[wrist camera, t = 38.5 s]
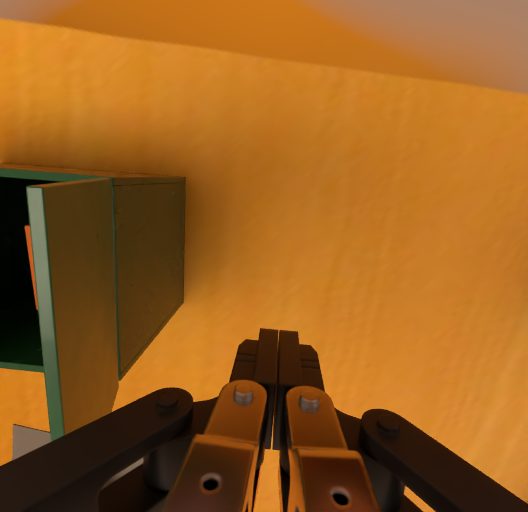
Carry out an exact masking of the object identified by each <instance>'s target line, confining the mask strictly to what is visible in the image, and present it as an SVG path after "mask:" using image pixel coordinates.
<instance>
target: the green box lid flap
mask: <svg viewBox="0 0 528 512" xmlns="http://www.w3.org/2000/svg"><path fill="white" fill-rule="evenodd" d="M26 194H27V204H28V214H29V224H30V234H31V244H32V254H33V264H34V274H35V284H36V294H37V304H38V315H39V325H40V335H41V345H42V355H43V365H44V375H45V385H46V395H47V405H48V415H49V425H50V435H51V442H52V441H54V440H56V439H58V438H60V437H62V436H64V435H66V434H68V433H70V432H72V431H74V430H76V429H78V428H80V427H82V426H84V425H87V424H89V423H91V422H93V421H95V420H97V419H99V418H101V417H103V416H105V415H107V414H109V413H111V412H112V408H113V405H114V401H115V398H116V394H117V391H118V388H119V383H118V356H117V329H116V302H115V275H114V249H113V222H112V195H111V179H110V178H97V179H88V180H78V181H69V182H60V183H50V184H41V185H31V186H26Z"/></svg>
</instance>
